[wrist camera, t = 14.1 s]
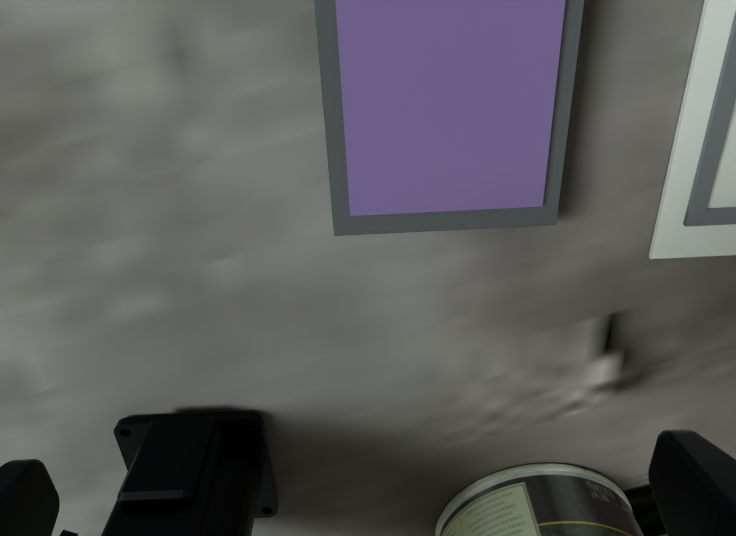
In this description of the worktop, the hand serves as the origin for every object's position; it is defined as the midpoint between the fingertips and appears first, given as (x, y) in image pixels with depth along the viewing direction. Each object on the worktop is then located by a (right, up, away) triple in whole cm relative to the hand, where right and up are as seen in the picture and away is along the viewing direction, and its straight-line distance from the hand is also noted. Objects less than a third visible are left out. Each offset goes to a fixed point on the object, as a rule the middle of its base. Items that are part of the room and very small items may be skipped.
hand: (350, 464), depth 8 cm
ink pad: (+3, +9, +10) cm, 14 cm away
